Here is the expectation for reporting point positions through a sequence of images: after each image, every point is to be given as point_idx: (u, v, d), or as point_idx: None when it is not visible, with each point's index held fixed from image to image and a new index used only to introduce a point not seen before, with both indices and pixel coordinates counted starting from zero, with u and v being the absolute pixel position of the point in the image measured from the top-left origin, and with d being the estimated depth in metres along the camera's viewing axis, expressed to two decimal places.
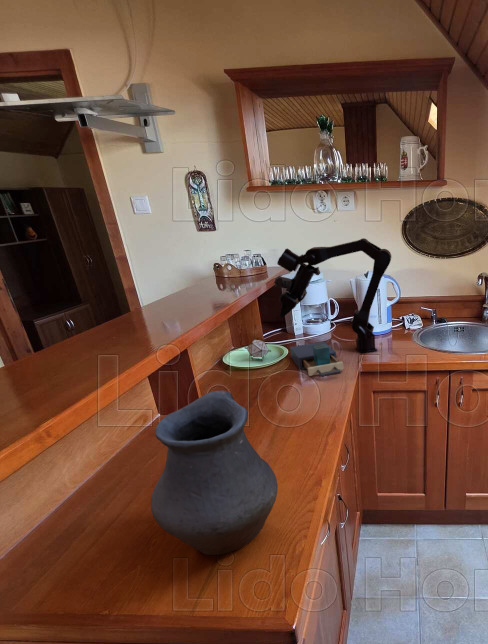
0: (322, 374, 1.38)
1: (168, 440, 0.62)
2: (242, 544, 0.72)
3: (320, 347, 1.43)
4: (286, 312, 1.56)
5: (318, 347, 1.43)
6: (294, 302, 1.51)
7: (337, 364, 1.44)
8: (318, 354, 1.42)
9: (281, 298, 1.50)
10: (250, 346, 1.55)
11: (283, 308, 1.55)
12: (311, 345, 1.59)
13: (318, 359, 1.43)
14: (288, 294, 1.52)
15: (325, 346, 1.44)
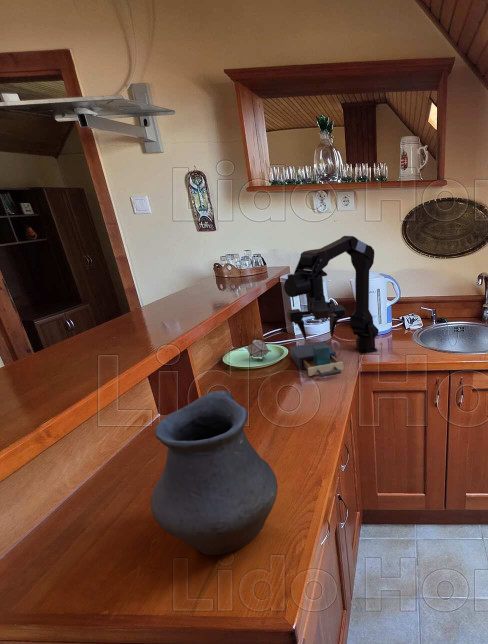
0: (322, 374, 1.38)
1: (168, 440, 0.62)
2: (242, 544, 0.72)
3: (320, 347, 1.43)
4: None
5: (318, 347, 1.43)
6: None
7: (337, 364, 1.44)
8: (318, 354, 1.42)
9: None
10: (250, 346, 1.55)
11: None
12: (311, 345, 1.59)
13: (318, 359, 1.43)
14: (337, 306, 1.41)
15: (325, 346, 1.44)
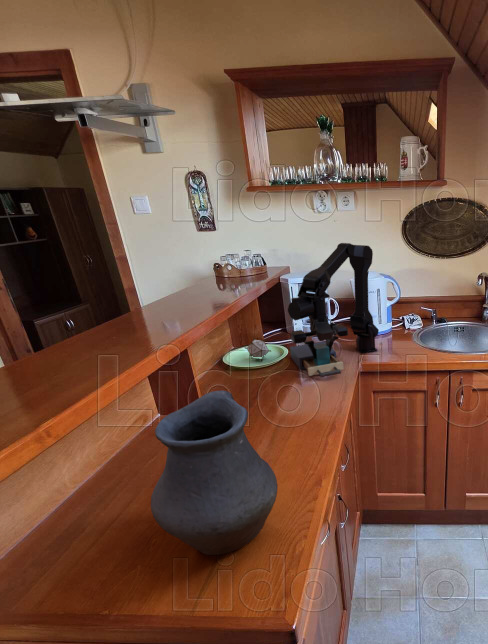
0: (322, 374, 1.38)
1: (168, 440, 0.62)
2: (242, 544, 0.72)
3: (320, 347, 1.43)
4: None
5: (318, 347, 1.43)
6: None
7: (337, 364, 1.44)
8: (318, 354, 1.42)
9: (347, 332, 1.44)
10: (250, 346, 1.55)
11: None
12: None
13: (318, 359, 1.43)
14: (340, 326, 1.43)
15: (325, 346, 1.44)
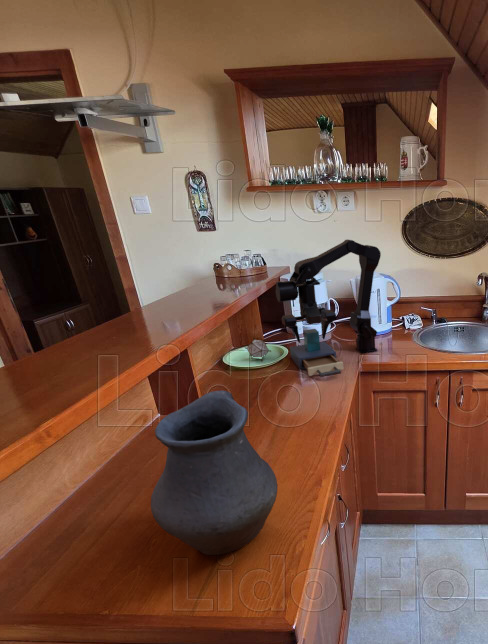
0: (322, 374, 1.38)
1: (168, 440, 0.62)
2: (242, 544, 0.72)
3: (310, 331, 1.52)
4: None
5: (308, 331, 1.51)
6: None
7: (337, 364, 1.44)
8: (308, 338, 1.51)
9: None
10: (250, 346, 1.55)
11: None
12: None
13: (308, 343, 1.51)
14: (328, 311, 1.52)
15: (315, 331, 1.52)
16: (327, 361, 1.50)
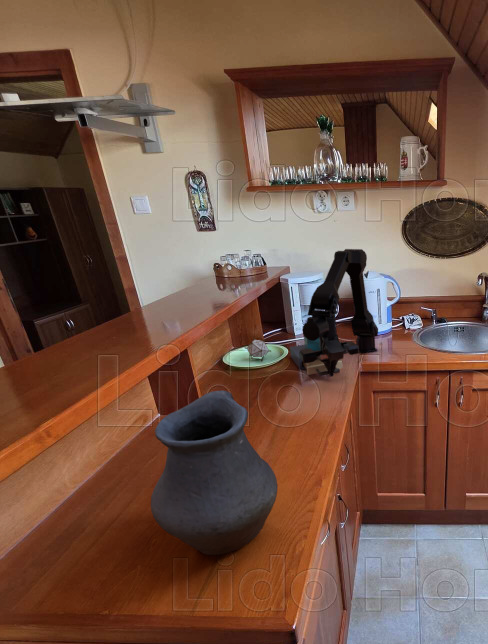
0: (321, 373, 1.39)
1: (168, 440, 0.62)
2: (242, 544, 0.72)
3: None
4: None
5: None
6: None
7: None
8: None
9: (358, 350, 1.38)
10: (250, 346, 1.55)
11: None
12: None
13: (308, 343, 1.51)
14: (350, 344, 1.37)
15: None
16: None
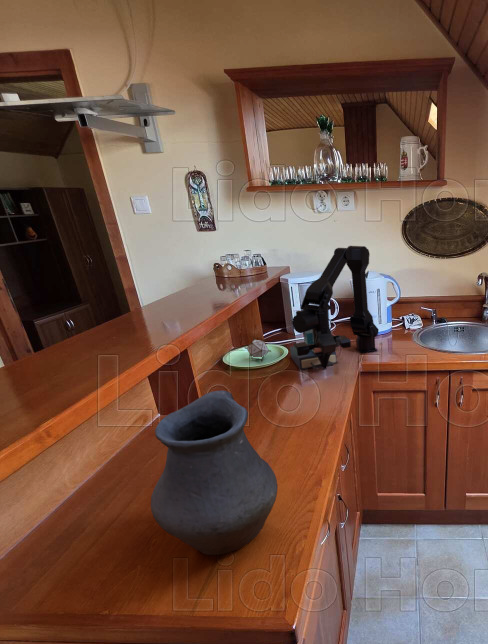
0: (315, 366, 1.44)
1: (168, 440, 0.62)
2: (242, 544, 0.72)
3: (310, 331, 1.52)
4: None
5: (308, 331, 1.51)
6: None
7: (330, 357, 1.51)
8: (308, 338, 1.51)
9: (350, 343, 1.43)
10: (250, 346, 1.55)
11: None
12: None
13: (308, 343, 1.51)
14: (343, 338, 1.43)
15: None
16: None
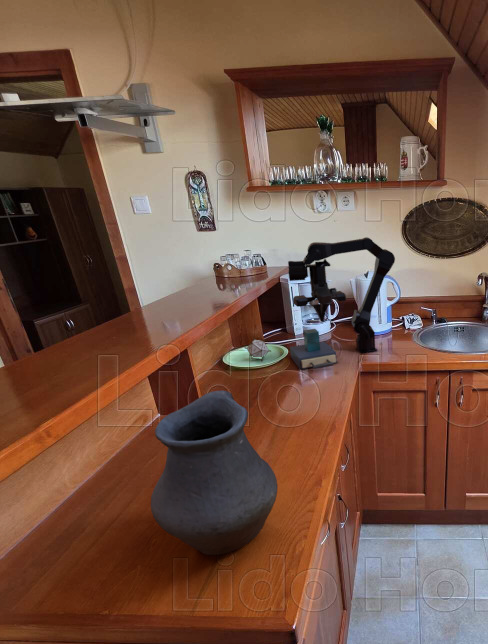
0: (315, 366, 1.44)
1: (168, 440, 0.62)
2: (242, 544, 0.72)
3: (310, 331, 1.52)
4: None
5: (308, 331, 1.51)
6: None
7: (330, 357, 1.51)
8: (308, 338, 1.51)
9: (345, 298, 1.56)
10: (250, 346, 1.55)
11: None
12: None
13: (308, 343, 1.51)
14: (338, 292, 1.56)
15: (315, 331, 1.52)
16: None
